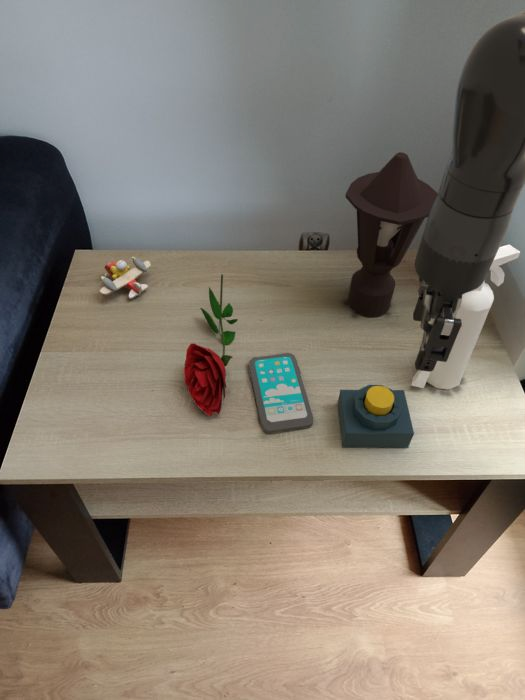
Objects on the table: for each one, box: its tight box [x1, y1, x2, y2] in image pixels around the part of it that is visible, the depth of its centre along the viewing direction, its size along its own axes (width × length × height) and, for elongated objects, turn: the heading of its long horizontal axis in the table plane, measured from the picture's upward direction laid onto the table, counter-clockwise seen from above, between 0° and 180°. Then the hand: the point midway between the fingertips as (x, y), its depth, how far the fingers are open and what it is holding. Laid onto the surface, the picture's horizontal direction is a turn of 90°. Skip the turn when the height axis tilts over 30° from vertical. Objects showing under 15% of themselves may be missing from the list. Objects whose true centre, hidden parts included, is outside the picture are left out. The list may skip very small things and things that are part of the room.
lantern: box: [345, 151, 438, 319], centre depth 87 cm, size 15×15×30 cm
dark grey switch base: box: [336, 384, 415, 449], centre depth 77 cm, size 10×8×6 cm
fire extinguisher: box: [411, 244, 521, 391], centre depth 77 cm, size 7×12×25 cm, turn 116°
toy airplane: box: [99, 256, 151, 300], centre depth 98 cm, size 9×9×6 cm
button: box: [364, 385, 394, 416], centre depth 75 cm, size 4×4×2 cm
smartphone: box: [248, 352, 314, 434], centre depth 83 cm, size 9×1×15 cm
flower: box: [183, 274, 239, 417], centre depth 87 cm, size 9×9×30 cm
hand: (421, 342), depth 64 cm, fingers open, 8 cm apart
